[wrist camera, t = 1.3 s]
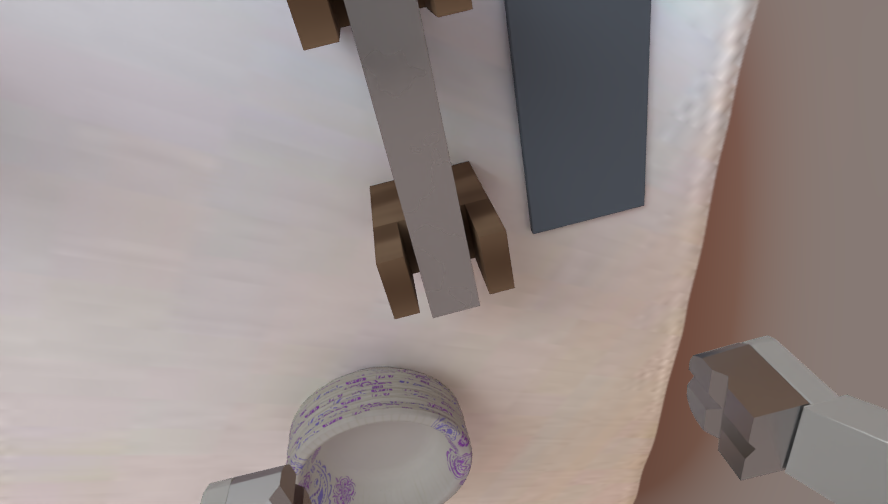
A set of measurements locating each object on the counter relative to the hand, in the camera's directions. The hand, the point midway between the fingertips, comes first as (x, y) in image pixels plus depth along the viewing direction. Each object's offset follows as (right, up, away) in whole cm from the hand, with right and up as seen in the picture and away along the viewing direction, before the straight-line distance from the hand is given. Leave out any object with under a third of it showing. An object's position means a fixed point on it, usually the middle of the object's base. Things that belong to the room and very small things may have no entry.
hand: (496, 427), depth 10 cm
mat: (+8, +16, +22) cm, 29 cm away
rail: (-3, +10, +17) cm, 20 cm away
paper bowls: (-7, -11, +37) cm, 39 cm away
